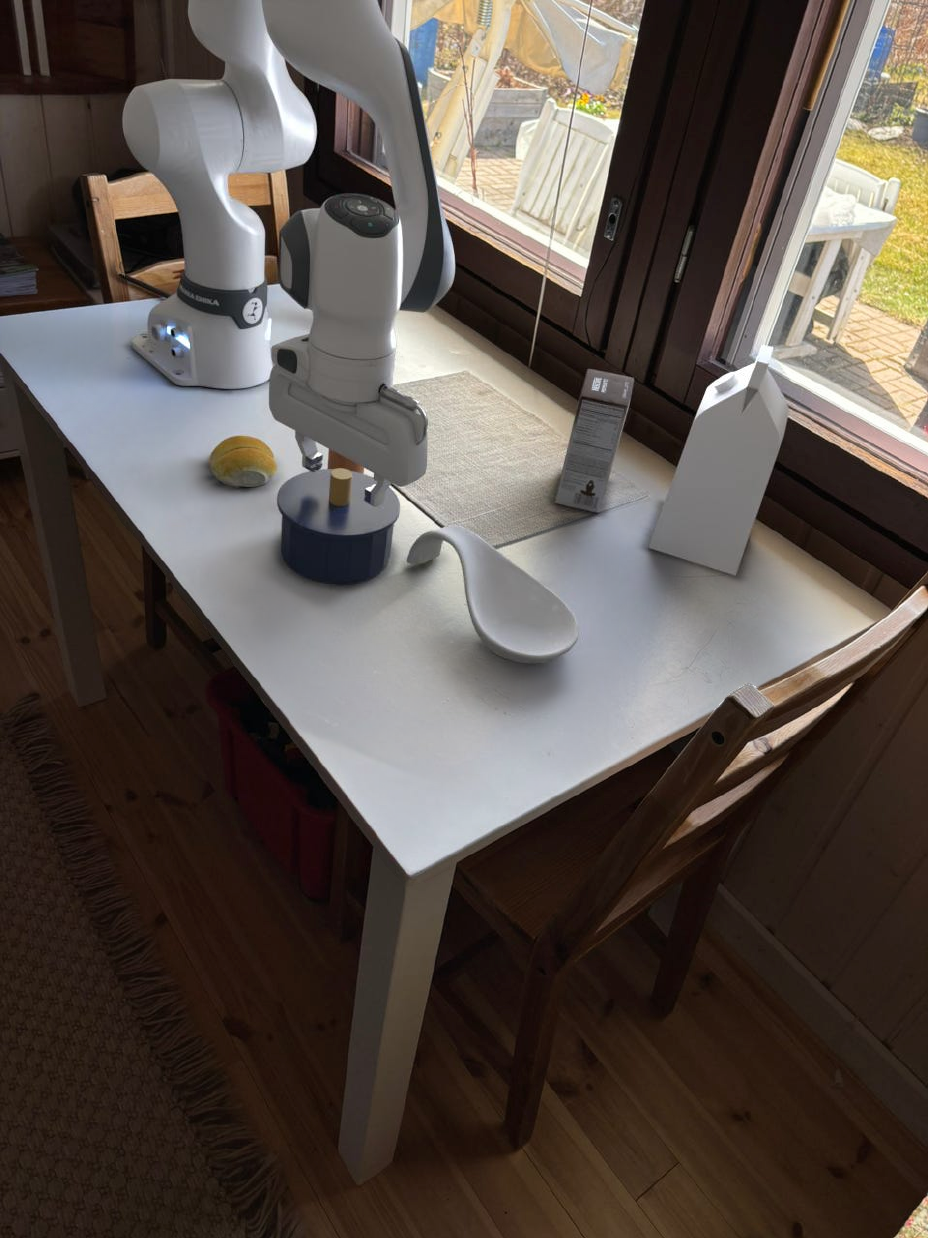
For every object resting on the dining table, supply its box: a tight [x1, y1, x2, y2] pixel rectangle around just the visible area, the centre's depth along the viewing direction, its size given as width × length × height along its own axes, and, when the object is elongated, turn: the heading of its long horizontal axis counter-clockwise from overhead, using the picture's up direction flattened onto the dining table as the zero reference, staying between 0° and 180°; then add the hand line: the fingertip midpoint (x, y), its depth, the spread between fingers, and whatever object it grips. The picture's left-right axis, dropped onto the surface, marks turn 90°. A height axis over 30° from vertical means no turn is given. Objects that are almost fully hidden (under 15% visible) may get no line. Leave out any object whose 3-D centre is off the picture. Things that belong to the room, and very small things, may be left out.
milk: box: [647, 344, 790, 576], centre depth 118 cm, size 12×12×26 cm
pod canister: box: [326, 448, 365, 474], centre depth 121 cm, size 5×5×8 cm
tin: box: [280, 515, 395, 586], centre depth 110 cm, size 13×13×7 cm
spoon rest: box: [406, 524, 580, 664], centre depth 105 cm, size 24×12×7 cm, turn 40°
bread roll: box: [208, 435, 278, 488], centre depth 122 cm, size 8×9×4 cm
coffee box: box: [554, 368, 635, 514], centre depth 126 cm, size 9×6×16 cm
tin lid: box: [276, 468, 401, 540], centre depth 107 cm, size 14×14×5 cm
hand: (342, 485), depth 106 cm, fingers open, 8 cm apart
